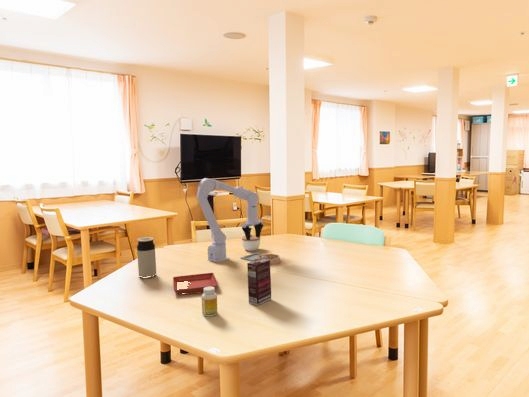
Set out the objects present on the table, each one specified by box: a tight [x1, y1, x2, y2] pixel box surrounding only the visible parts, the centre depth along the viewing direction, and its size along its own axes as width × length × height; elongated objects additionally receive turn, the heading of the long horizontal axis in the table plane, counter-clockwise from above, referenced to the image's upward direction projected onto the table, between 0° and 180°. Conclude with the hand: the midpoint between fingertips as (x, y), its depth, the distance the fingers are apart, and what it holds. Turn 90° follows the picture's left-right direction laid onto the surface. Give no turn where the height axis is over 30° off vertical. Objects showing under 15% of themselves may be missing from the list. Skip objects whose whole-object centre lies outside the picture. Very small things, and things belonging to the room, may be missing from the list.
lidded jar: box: [241, 234, 261, 252], centre depth 233 cm, size 11×11×9 cm
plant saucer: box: [172, 272, 219, 295], centre depth 173 cm, size 18×18×3 cm
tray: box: [240, 252, 263, 262], centre depth 216 cm, size 12×9×1 cm
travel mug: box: [136, 236, 157, 277], centre depth 189 cm, size 8×8×18 cm
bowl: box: [258, 253, 281, 266], centre depth 208 cm, size 11×11×3 cm
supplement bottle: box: [201, 286, 218, 317], centre depth 143 cm, size 5×5×10 cm
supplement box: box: [246, 258, 272, 307], centre depth 154 cm, size 9×5×16 cm, turn 141°
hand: (253, 238), depth 220 cm, fingers open, 7 cm apart
